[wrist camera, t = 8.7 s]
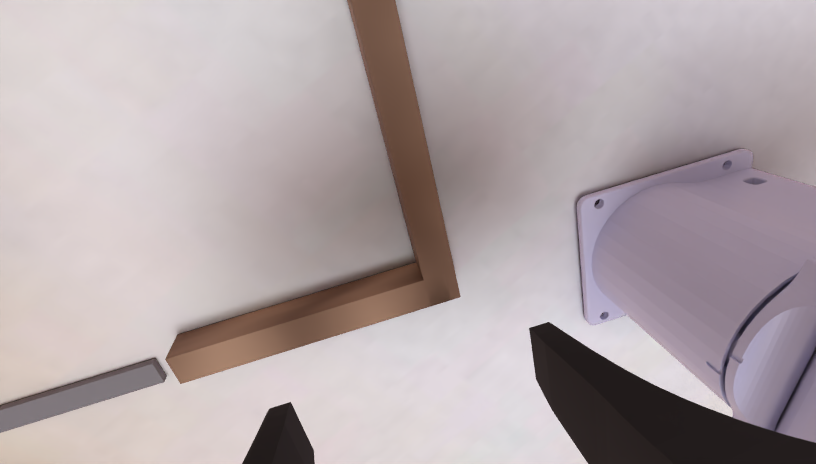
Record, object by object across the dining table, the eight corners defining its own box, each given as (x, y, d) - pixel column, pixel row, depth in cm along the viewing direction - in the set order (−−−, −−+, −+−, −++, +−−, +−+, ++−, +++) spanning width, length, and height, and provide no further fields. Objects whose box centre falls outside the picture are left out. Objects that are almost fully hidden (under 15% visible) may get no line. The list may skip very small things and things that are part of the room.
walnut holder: (341, -201, 14) (344, -231, 13) (450, 278, 22) (460, 297, 21) (-83, -105, 13) (-138, -125, 12) (191, 358, 22) (180, 383, 20)
